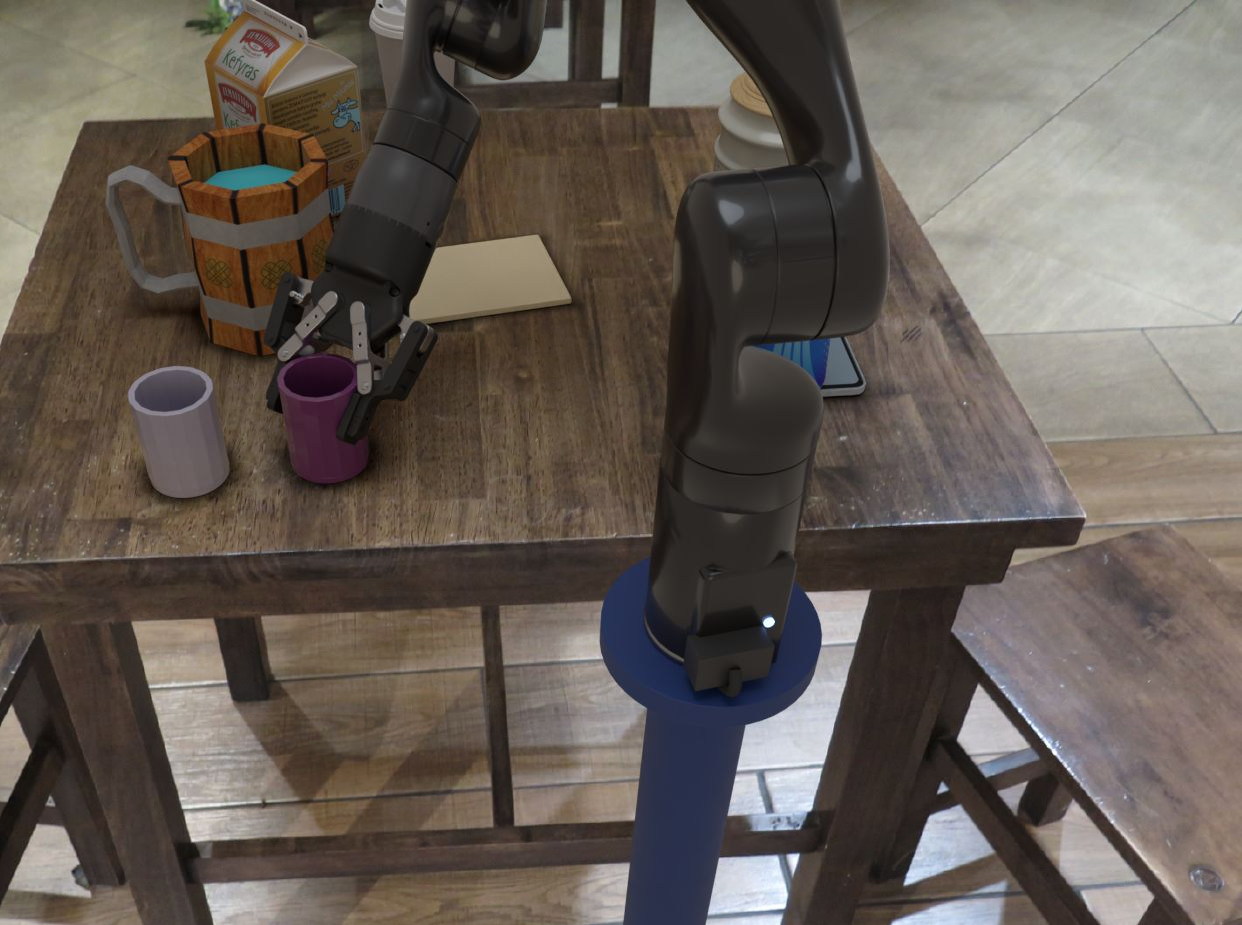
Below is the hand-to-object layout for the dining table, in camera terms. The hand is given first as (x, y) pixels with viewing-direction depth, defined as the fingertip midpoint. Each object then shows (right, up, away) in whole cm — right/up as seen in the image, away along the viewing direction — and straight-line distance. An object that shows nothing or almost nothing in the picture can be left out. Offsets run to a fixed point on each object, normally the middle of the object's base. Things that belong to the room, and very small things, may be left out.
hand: (310, 426), depth 97 cm
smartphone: (+41, +9, +15) cm, 45 cm away
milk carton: (-7, +28, +34) cm, 45 cm away
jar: (+41, +23, +30) cm, 56 cm away
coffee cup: (+5, +37, +44) cm, 58 cm away
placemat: (+12, +17, +23) cm, 31 cm away
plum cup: (+1, -2, +4) cm, 5 cm away
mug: (-10, +13, +19) cm, 25 cm away
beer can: (+38, +5, +11) cm, 39 cm away
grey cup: (-10, -3, +3) cm, 11 cm away
